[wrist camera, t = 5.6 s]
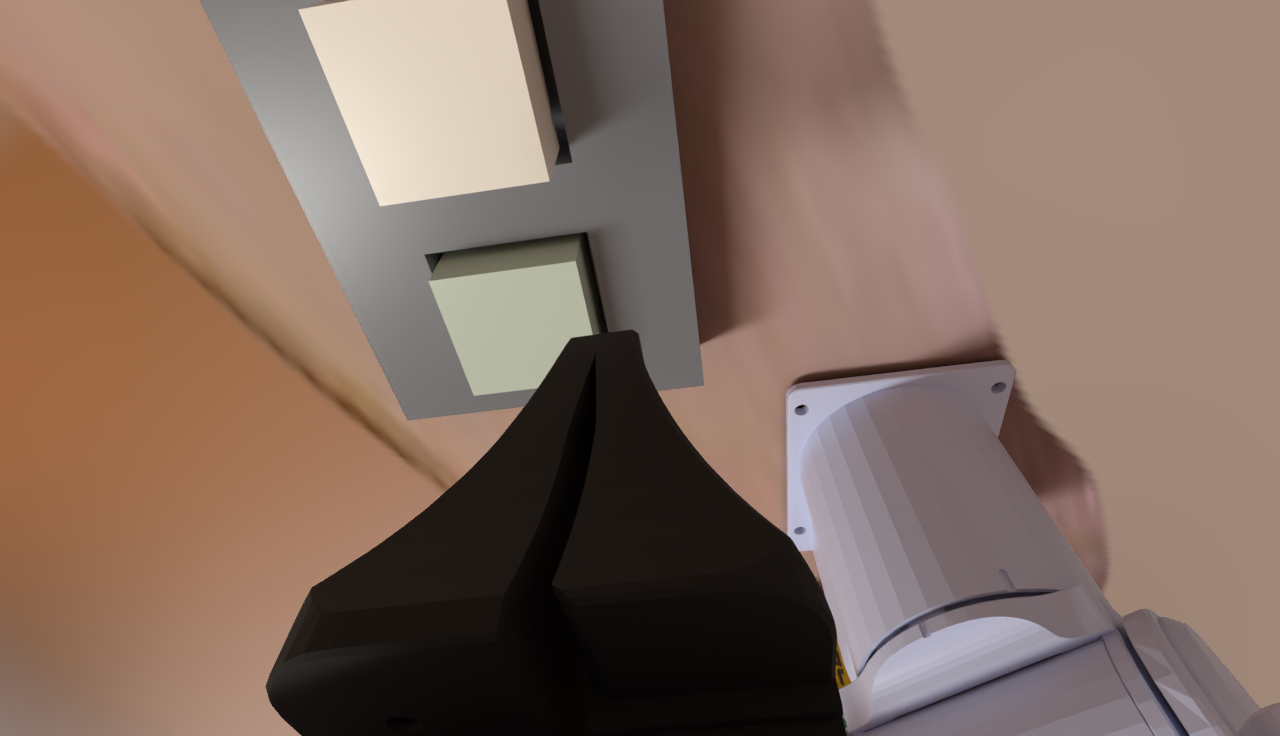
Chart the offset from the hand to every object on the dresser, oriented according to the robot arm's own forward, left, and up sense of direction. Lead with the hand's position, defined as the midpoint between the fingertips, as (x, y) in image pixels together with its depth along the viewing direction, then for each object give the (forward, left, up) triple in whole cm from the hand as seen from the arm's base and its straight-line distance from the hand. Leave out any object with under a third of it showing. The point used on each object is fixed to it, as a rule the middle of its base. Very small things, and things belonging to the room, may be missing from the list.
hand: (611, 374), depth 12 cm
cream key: (+5, +3, -6) cm, 8 cm away
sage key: (-2, +3, -7) cm, 8 cm away
